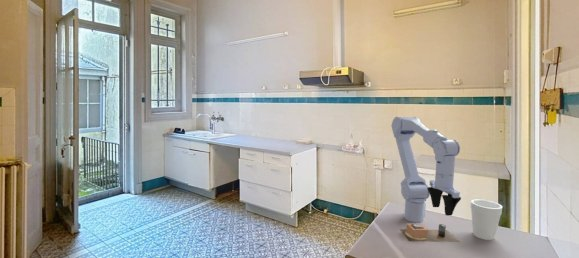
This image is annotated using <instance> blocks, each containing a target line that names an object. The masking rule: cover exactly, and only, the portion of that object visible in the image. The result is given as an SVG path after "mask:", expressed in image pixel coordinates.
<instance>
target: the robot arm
mask: <svg viewBox="0 0 579 258" xmlns="http://www.w3.org/2000/svg"><path fill="white" fill-rule="evenodd" d="M391 130H392V134H393V137H394V138H395V142H396V146H397V149H398V153H399V157H400V162H401V165H402V170H403V173H404V178H403V180H402V181H401V182H400V187H401V189H400V193H401V196H402V198H403V199H404V200H405V202H404V203H405V204H404V219H405V220H406V221H408V222H410V223H411V222H412V223H423V221H424V218H426V210H427V209H426V208H427V203H426V202H427V199H429V198H430V200H431V205H432V207H433V208H440V206H441V200H443V204H444V215H445V216H452V215H453V214H454V211H455V208H456V207H457V204H458V203H459V202H460V201H461V200H462V197H461V196H460V193H461V192H460V191H458V190H457V189H456V188H455V187H454V177H455V176H454V175H455V166H456V165H455V164H456V163H455V162H456V157H457V156H458V155H460V151H461V147H460V144H459V142H457V140H456V139H448V138H447V136H444V135H442V134H440V133H439V130H437V129H429V128H428V127H427V126H425V125H424V124H423V123H422V122H421V119H420V118H418V117H417V116H406V117H405V116H395V117H394V118H393V120H392V122H391ZM415 134H417V135H419V136H421V137H422V140H423V142H424V143H425V144H427V145H428V146H429V147H430V148H432V150H433V153H434V160H435V161H436V162H435V175H434V177H435V178H434V179H433V180H432V179H430V180H429V186H428V184H427V181H426V179H425V178H423V177H422V176H420V175H419V171H418V167H417V164H416V161H415V160H416V159H415V156H414V153H413V150H412V149H413V148H412V146H411V145H412V144H411V142H410V139H411V138H413V137H414V136H415ZM443 193H444V194H443ZM445 193H446V194H445Z"/></svg>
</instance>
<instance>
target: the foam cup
mask: <svg viewBox="0 0 579 258" xmlns="http://www.w3.org/2000/svg"><path fill="white" fill-rule="evenodd" d="M470 210H471V211H470V213H471V226H472V235H473V236H474V237H476V238H477V239H481V240H485V241H493V240H495V237H496V233H497V230H498V227H499V222H500V219H501V216H502V213H503V205H501V204H500V203H498V202H495V201H492V200H487V199H480V198H479V199H477V198H476V199H472V200H471V201H470Z"/></svg>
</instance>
